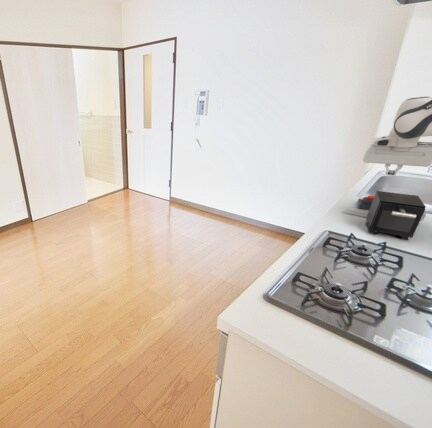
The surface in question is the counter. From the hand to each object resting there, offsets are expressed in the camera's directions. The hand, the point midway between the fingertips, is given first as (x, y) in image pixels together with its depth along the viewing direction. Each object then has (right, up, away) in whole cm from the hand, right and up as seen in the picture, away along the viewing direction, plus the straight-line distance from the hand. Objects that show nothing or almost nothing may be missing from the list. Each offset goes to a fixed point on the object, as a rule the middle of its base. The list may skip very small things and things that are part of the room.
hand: (390, 174), depth 116 cm
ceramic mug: (+6, -20, +1) cm, 21 cm away
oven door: (-12, -25, -13) cm, 30 cm away
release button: (+4, -10, +13) cm, 17 cm away
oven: (-7, -23, -5) cm, 24 cm away
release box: (+5, -13, +15) cm, 20 cm away
